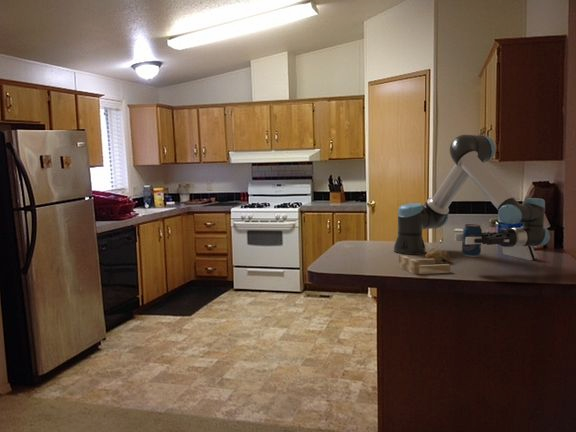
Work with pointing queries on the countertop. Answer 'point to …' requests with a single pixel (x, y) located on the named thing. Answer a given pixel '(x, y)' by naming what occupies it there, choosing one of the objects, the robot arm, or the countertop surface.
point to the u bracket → (422, 265)
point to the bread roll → (438, 255)
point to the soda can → (471, 231)
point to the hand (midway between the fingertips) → (460, 239)
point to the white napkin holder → (521, 252)
